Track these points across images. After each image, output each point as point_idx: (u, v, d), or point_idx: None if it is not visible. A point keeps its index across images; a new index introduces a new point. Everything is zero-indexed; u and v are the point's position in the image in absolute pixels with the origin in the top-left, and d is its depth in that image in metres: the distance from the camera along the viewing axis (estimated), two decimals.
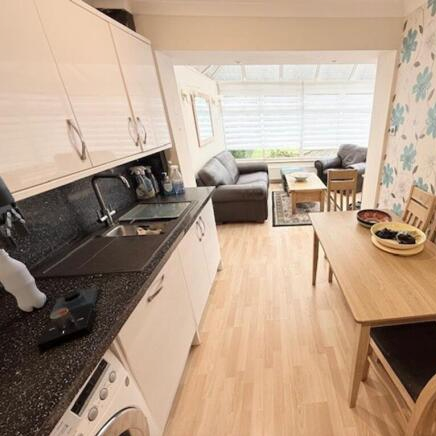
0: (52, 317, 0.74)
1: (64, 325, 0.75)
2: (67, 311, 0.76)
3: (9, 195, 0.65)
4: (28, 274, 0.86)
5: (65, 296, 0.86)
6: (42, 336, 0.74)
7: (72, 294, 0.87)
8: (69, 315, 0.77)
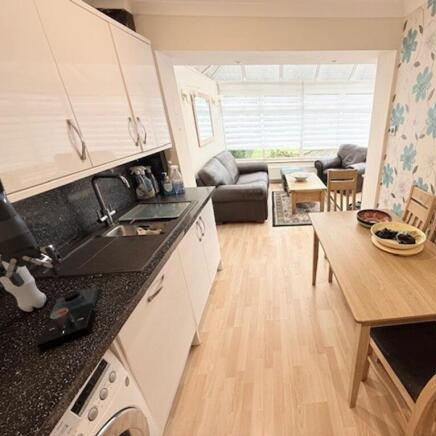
0: (52, 317, 0.74)
1: (64, 325, 0.75)
2: (67, 311, 0.76)
3: None
4: (28, 274, 0.86)
5: (65, 296, 0.86)
6: (42, 336, 0.74)
7: (72, 294, 0.87)
8: (69, 315, 0.77)
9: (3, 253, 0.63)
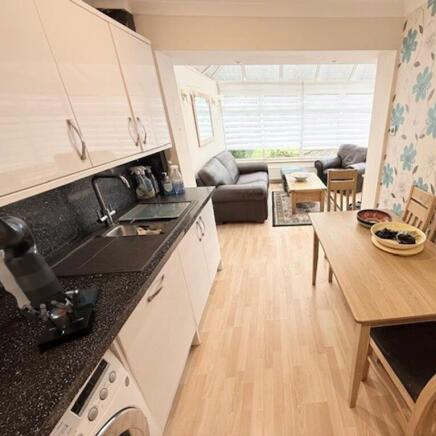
0: (52, 317, 0.74)
1: (64, 325, 0.75)
2: None
3: None
4: None
5: None
6: (42, 336, 0.74)
7: None
8: None
9: (35, 300, 0.68)
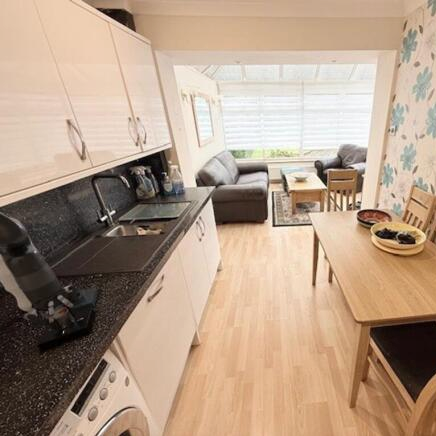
0: (57, 316, 0.74)
1: (71, 320, 0.77)
2: (67, 308, 0.77)
3: None
4: None
5: (65, 296, 0.86)
6: (42, 336, 0.74)
7: None
8: None
9: (50, 295, 0.70)
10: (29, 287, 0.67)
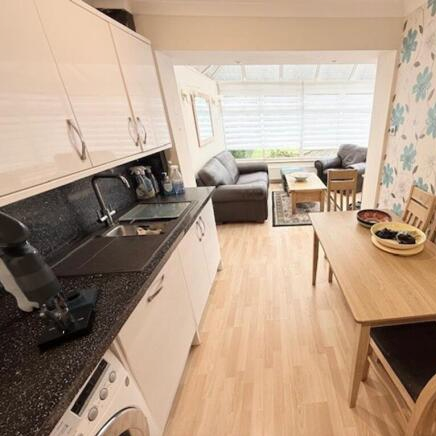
0: (63, 314, 0.75)
1: (73, 317, 0.78)
2: None
3: None
4: None
5: None
6: (42, 336, 0.74)
7: (72, 294, 0.87)
8: None
9: (58, 289, 0.72)
10: (41, 283, 0.68)
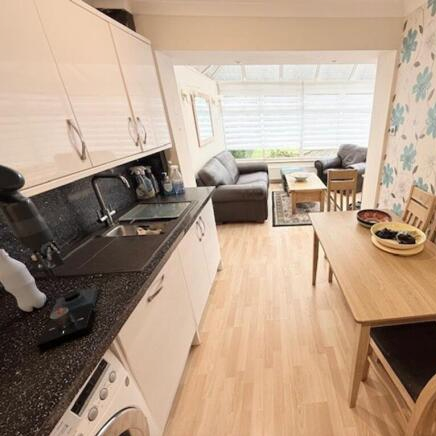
0: (63, 314, 0.75)
1: (73, 317, 0.78)
2: None
3: None
4: (28, 274, 0.86)
5: (65, 296, 0.86)
6: (42, 336, 0.74)
7: (72, 294, 0.87)
8: None
9: (50, 239, 0.77)
10: (34, 230, 0.73)
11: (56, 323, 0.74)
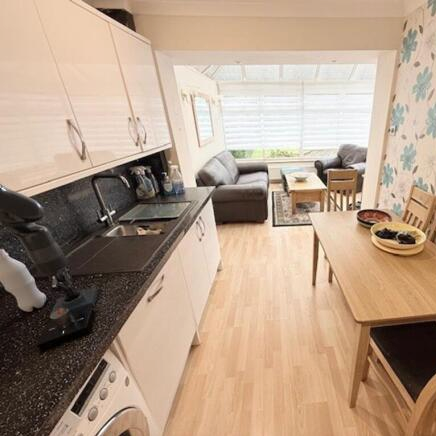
0: (63, 314, 0.75)
1: (73, 317, 0.78)
2: None
3: None
4: (28, 274, 0.86)
5: (66, 297, 0.87)
6: (42, 336, 0.74)
7: None
8: None
9: (65, 264, 0.82)
10: (51, 257, 0.78)
11: (56, 323, 0.74)
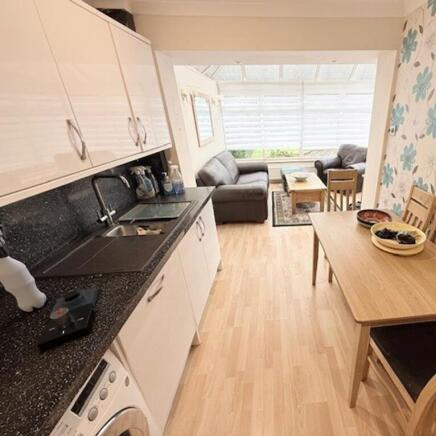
0: (63, 314, 0.75)
1: (73, 317, 0.78)
2: None
3: None
4: (28, 274, 0.86)
5: (65, 296, 0.86)
6: (42, 336, 0.74)
7: (72, 294, 0.87)
8: None
9: None
10: None
11: (56, 323, 0.74)
